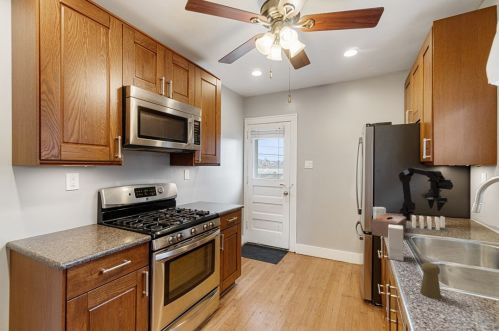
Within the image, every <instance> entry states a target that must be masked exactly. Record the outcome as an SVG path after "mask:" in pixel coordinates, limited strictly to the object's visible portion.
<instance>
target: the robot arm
mask: <svg viewBox="0 0 499 331" xmlns="http://www.w3.org/2000/svg"><path fill="white" fill-rule="evenodd" d="M415 174H416V175H417V174H418V175H421V176H425V177H427V178H429V179H427V182H429V189H428V190H427V191H423V192H421V193H420V196H421V198H422V199H424V200H426V202H427V204H428V206H429V208H430V209H433V207H434V205H435V204H434V203H436V209H437V212H440V211H441V209H443V206H445V204H447V203H448V198H447V197H444V196H442V195H441V192H442V190H447V191H449V190H452V189H453V188H454V184H453V182H452V180H451V179H446V177H445V176H444V175H443V173H442V172H441V171H440V170H428V169H423V168H417V167H415V166H414V167H408V168H407V169H405V170H403V171H401V172H399V173H398V178H399V181H400V182H401V184H402V192H403V202H402V206H401V208H400V209H399V213H400V214H402V215H401V216H404V217H406V222H407V221H408V222H412V214H414V212H415V210H416V208H417V206H416V203H415V202H413V199H412V195H411V194H412V192H411V186H410V184H411V183H410V182H411V180H412V177H413V176H414V175H415Z"/></svg>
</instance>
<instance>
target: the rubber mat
mask: <svg viewBox="0 0 499 331" xmlns="http://www.w3.org/2000/svg"><path fill="white" fill-rule="evenodd" d="M406 229H413V230H421V231H423V230H424V231H434V232H444V233H451V231H450V230H449V229H447V228H446V227H445V228H443V227H440V230H436V229H435V226H434V227H431V229H428V228H427V226H425V225H424V229H421V228H420V227H419V225H416V228H413V227H412V224H406Z"/></svg>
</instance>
